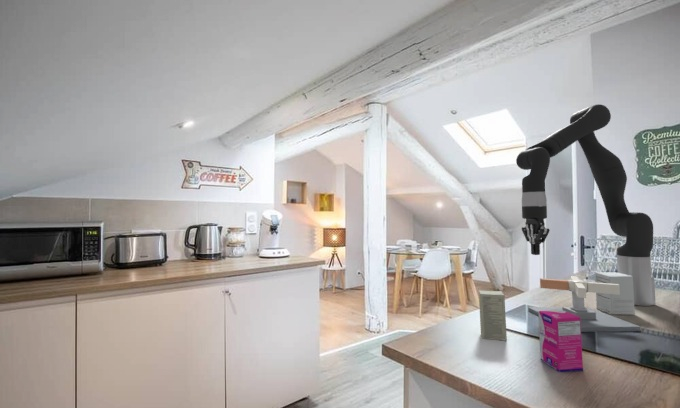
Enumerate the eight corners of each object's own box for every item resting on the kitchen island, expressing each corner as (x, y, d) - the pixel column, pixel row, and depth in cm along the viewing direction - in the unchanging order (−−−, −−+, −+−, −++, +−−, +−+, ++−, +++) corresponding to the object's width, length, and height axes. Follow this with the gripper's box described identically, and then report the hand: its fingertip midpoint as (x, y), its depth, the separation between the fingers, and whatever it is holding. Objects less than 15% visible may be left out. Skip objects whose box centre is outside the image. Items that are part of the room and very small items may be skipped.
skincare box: (504, 335, 89) (503, 291, 90) (507, 341, 85) (505, 294, 85) (479, 333, 91) (478, 289, 92) (481, 338, 87) (479, 293, 88)
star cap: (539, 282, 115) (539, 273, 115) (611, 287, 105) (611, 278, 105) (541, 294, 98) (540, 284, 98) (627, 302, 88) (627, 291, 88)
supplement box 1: (539, 360, 74) (537, 309, 74) (563, 359, 74) (561, 308, 75) (558, 372, 68) (556, 317, 68) (584, 371, 69) (582, 316, 69)
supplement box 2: (618, 308, 112) (616, 272, 113) (635, 315, 105) (633, 276, 105) (595, 308, 113) (594, 272, 114) (611, 314, 106) (609, 275, 106)
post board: (586, 310, 111) (585, 284, 111) (640, 330, 91) (639, 299, 91) (528, 310, 111) (527, 285, 111) (569, 331, 91) (568, 300, 91)
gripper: (513, 205, 120) (514, 252, 120) (534, 204, 107) (536, 257, 107) (533, 205, 120) (534, 252, 120) (557, 204, 107) (559, 257, 107)
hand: (535, 254), depth 113 cm, fingers closed
